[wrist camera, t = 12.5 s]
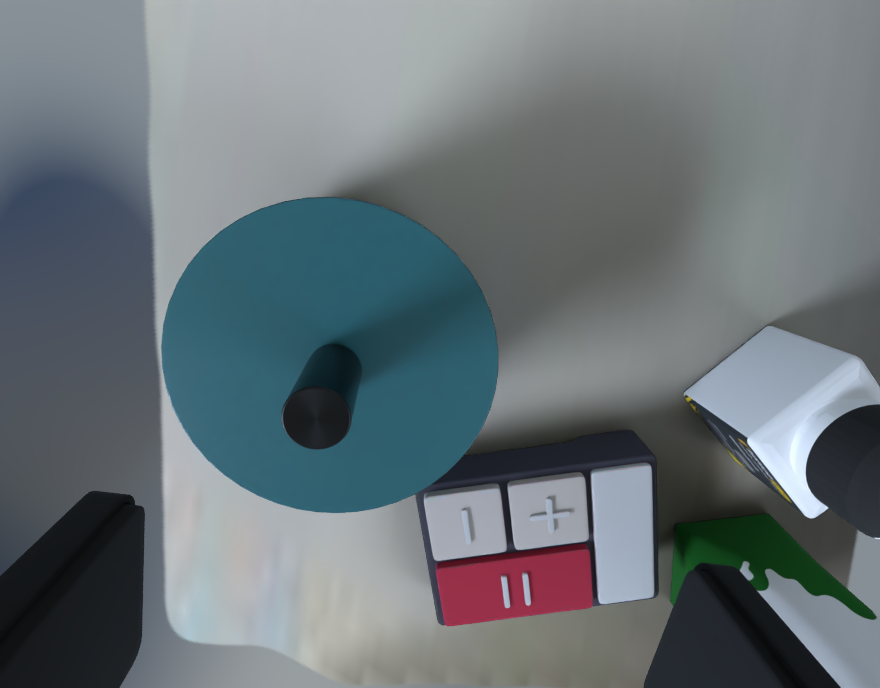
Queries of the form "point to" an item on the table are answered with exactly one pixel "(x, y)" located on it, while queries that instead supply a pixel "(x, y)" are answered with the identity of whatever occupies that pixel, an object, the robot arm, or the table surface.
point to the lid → (329, 354)
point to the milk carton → (788, 591)
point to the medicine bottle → (799, 423)
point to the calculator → (542, 529)
